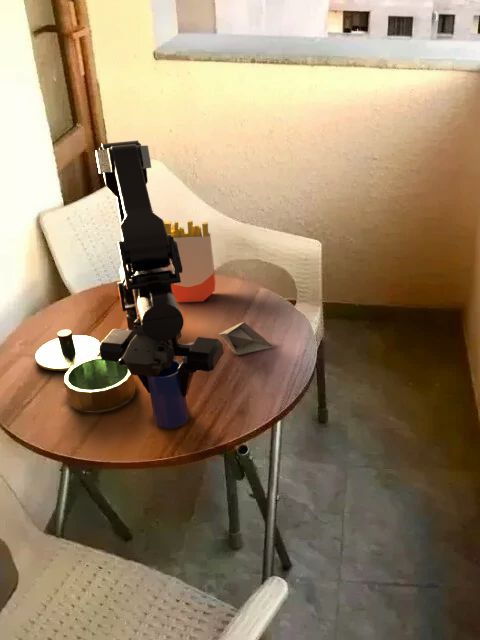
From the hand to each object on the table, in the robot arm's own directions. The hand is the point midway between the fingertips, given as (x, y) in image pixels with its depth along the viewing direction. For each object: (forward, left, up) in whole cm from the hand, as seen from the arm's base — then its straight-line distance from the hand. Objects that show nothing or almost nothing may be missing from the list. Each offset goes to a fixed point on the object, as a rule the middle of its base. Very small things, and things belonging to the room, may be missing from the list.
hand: (167, 393), depth 118 cm
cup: (0, 0, -5) cm, 5 cm away
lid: (-5, -30, -4) cm, 31 cm away
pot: (+1, -15, -5) cm, 16 cm away
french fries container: (-36, -26, -5) cm, 45 cm away
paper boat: (-23, -2, -5) cm, 24 cm away
